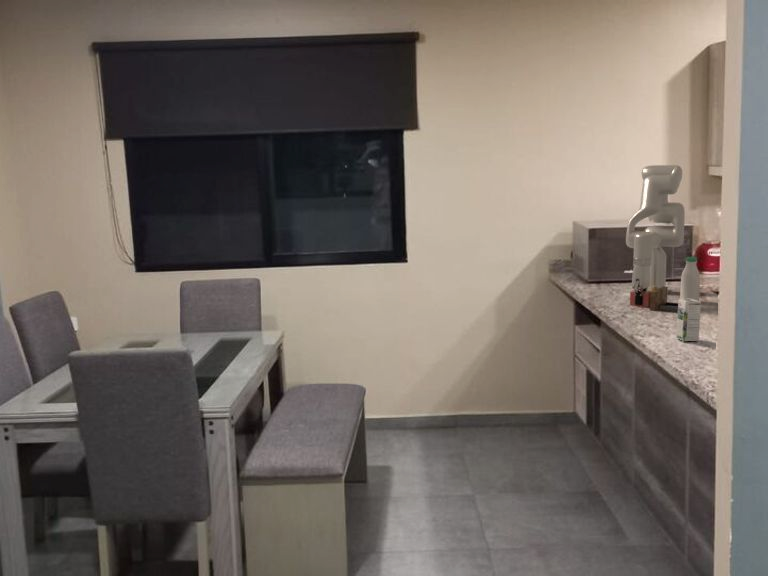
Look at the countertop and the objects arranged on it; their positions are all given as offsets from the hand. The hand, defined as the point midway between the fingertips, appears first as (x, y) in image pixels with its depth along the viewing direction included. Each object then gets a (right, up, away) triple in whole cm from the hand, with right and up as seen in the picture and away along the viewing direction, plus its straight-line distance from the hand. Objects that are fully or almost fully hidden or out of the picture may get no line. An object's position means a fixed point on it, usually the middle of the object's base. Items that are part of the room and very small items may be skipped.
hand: (640, 303), depth 327 cm
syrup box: (-5, -12, -63) cm, 64 cm away
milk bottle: (+23, 0, +5) cm, 23 cm away
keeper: (+11, -2, -10) cm, 16 cm away
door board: (+6, -2, -6) cm, 8 cm away
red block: (0, -1, 0) cm, 1 cm away
